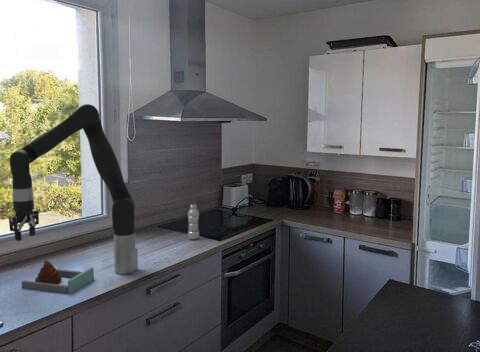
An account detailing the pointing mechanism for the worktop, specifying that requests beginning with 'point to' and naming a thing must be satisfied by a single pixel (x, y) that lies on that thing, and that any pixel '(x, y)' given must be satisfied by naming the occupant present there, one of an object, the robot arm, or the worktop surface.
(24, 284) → the channel
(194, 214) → the plastic bottle
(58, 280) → the poop emoji
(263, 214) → the worktop surface
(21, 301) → the worktop surface
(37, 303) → the worktop surface
